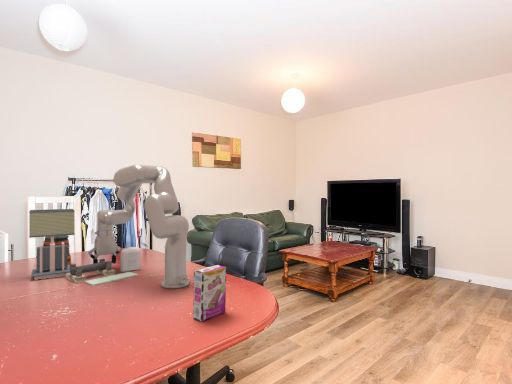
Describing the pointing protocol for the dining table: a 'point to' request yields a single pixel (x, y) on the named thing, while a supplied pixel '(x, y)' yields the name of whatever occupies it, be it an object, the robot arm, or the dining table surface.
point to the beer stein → (58, 241)
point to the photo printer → (130, 259)
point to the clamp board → (81, 278)
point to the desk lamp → (52, 256)
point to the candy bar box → (209, 292)
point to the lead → (89, 268)
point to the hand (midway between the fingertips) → (104, 264)
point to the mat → (110, 278)
